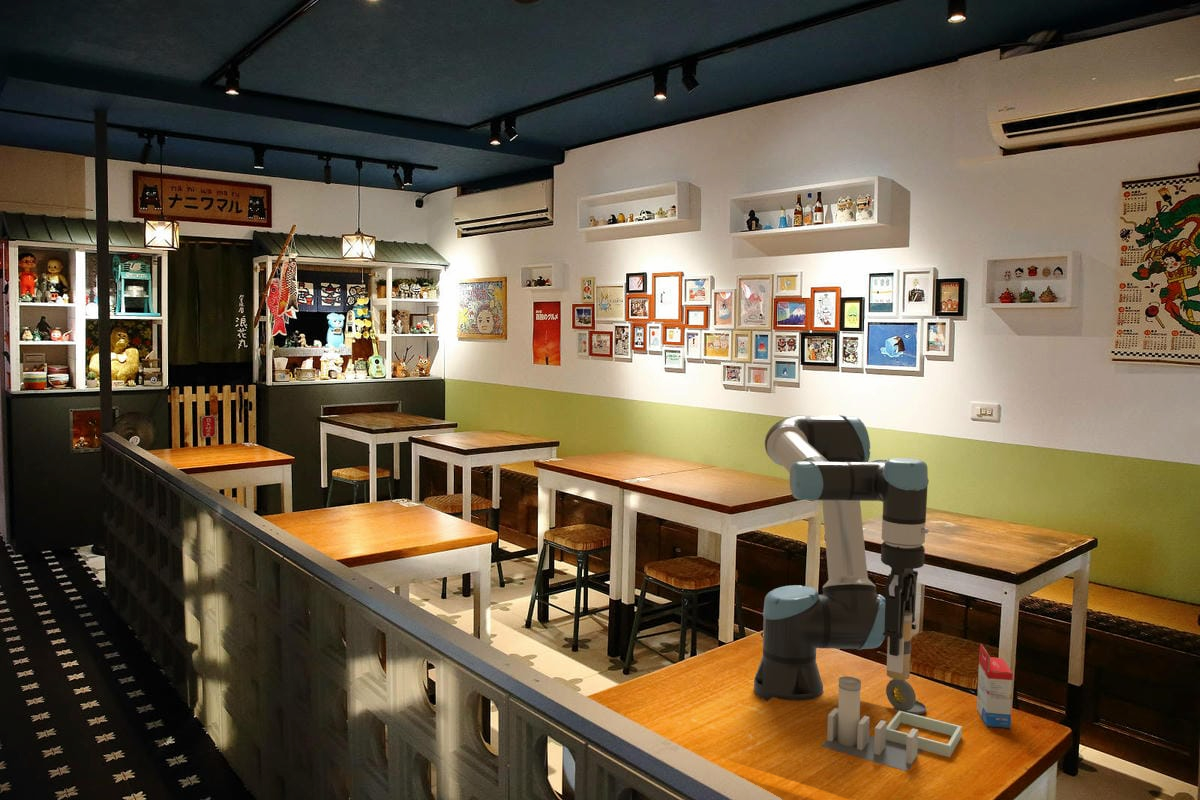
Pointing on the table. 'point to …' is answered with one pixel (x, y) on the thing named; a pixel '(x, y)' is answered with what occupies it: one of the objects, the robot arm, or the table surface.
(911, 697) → the pocket watch
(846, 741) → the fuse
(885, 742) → the fuse board
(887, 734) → the parts tray
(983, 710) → the ink box
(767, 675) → the robot arm
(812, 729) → the table surface
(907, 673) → the cylinder
